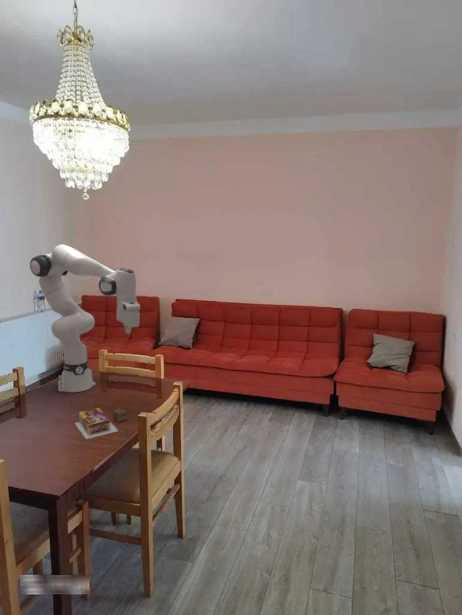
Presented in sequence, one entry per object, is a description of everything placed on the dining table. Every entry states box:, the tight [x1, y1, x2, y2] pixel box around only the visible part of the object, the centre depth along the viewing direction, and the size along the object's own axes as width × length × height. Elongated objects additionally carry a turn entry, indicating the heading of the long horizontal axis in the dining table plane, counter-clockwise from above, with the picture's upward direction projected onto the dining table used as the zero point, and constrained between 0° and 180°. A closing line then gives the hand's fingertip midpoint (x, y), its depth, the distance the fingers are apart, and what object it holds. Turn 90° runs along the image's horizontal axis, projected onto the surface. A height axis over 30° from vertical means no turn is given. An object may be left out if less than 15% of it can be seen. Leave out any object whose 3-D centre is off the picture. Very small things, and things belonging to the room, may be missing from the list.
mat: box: [74, 421, 119, 440], centre depth 179 cm, size 17×13×1 cm
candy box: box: [78, 407, 111, 434], centre depth 180 cm, size 9×4×15 cm
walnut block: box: [112, 408, 127, 423], centre depth 187 cm, size 4×4×4 cm
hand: (127, 333), depth 200 cm, fingers closed
